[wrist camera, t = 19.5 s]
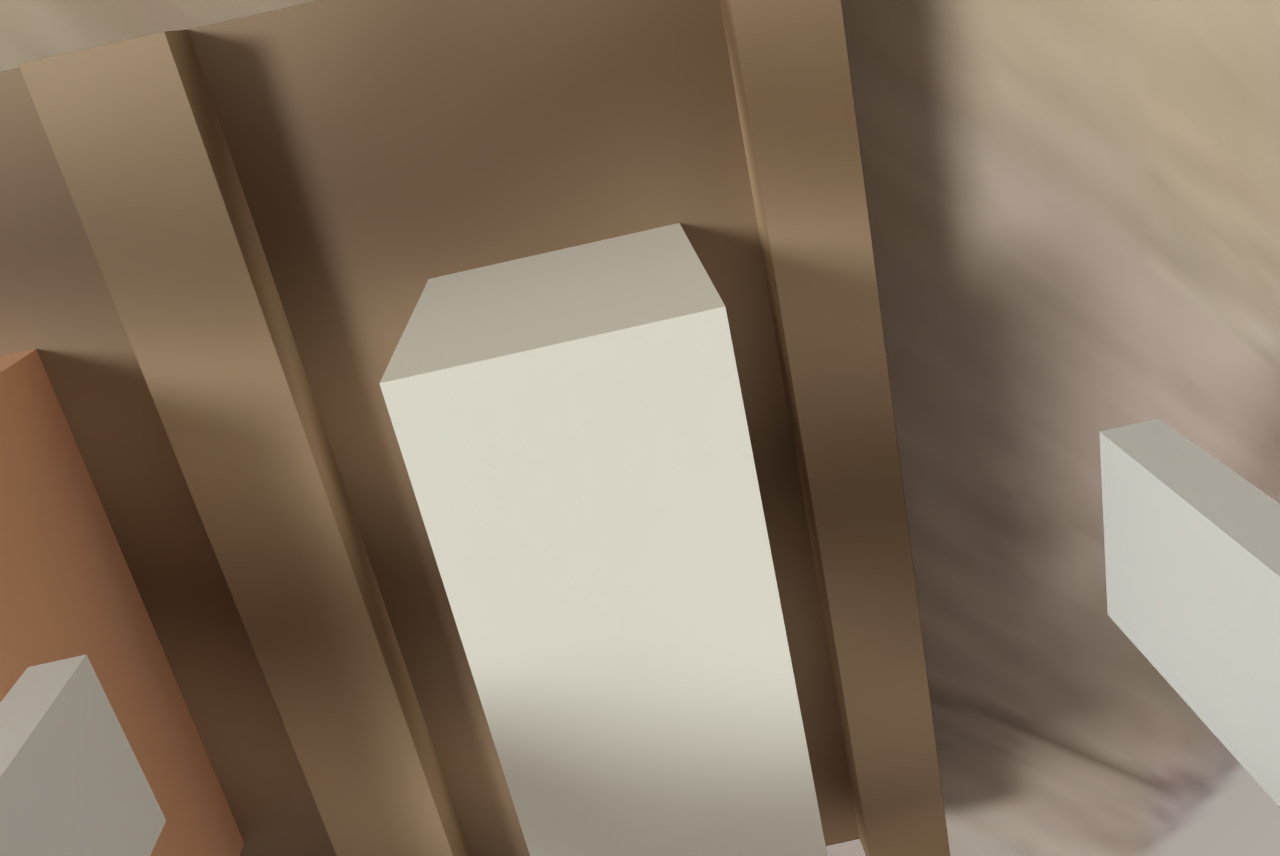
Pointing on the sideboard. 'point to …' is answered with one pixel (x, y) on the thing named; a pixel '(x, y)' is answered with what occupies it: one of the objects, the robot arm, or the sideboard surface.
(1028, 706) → the sideboard surface
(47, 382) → the terracotta stub
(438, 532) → the cream stub
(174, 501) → the comb board
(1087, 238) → the sideboard surface
